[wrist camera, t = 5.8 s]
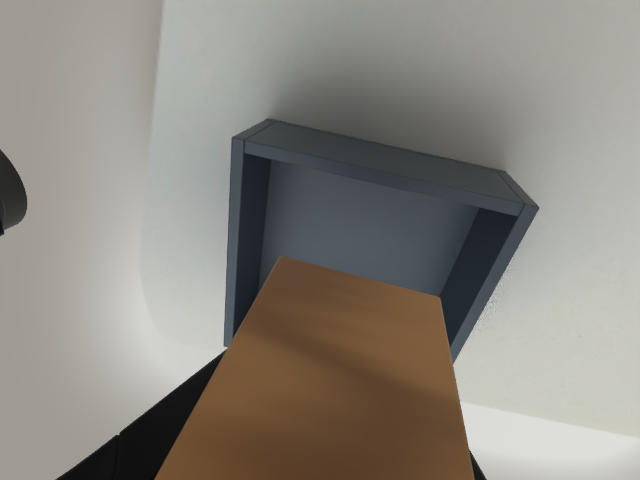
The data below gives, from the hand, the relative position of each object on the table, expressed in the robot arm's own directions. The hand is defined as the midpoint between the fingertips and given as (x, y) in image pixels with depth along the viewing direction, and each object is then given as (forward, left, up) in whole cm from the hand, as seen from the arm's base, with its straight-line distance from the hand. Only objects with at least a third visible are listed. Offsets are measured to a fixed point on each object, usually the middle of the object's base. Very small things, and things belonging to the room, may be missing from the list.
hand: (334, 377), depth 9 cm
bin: (0, -3, -13) cm, 13 cm away
